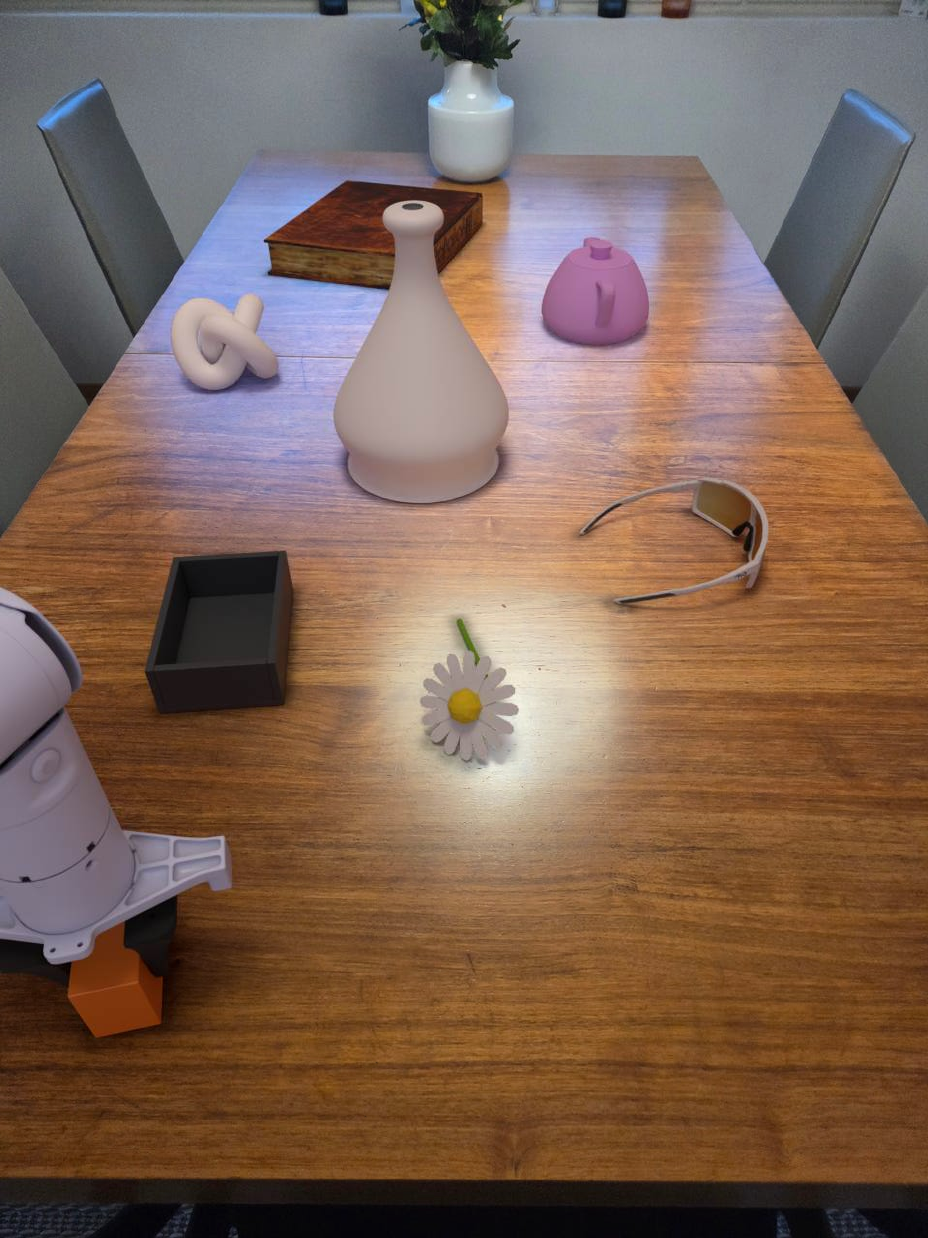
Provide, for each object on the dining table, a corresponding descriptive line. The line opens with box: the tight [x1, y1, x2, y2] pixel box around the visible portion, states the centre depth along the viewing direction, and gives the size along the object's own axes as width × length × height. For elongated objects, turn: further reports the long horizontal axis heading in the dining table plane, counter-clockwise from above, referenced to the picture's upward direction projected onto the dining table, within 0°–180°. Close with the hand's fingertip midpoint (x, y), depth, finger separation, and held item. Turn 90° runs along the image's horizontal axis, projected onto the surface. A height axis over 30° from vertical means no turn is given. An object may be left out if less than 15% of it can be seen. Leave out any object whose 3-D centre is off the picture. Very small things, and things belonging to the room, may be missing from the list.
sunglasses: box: [578, 476, 770, 605], centre depth 78 cm, size 14×15×5 cm
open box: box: [144, 550, 294, 714], centre depth 69 cm, size 9×13×4 cm
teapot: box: [541, 236, 650, 346], centre depth 112 cm, size 14×20×11 cm
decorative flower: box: [419, 618, 520, 761], centre depth 65 cm, size 8×6×15 cm
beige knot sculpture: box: [170, 292, 279, 391], centre depth 102 cm, size 11×12×9 cm
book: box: [263, 179, 484, 291], centre depth 135 cm, size 30×24×5 cm
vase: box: [332, 201, 510, 504], centre depth 82 cm, size 17×17×25 cm
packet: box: [67, 921, 164, 1039], centre depth 48 cm, size 4×6×5 cm, turn 13°
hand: (124, 968), depth 49 cm, fingers closed on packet, 3 cm apart
